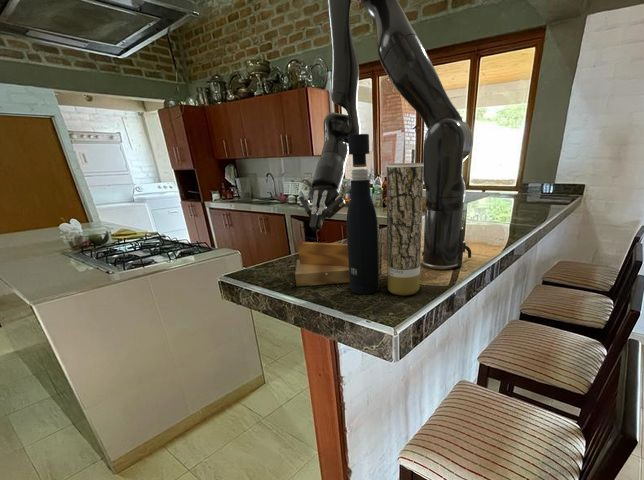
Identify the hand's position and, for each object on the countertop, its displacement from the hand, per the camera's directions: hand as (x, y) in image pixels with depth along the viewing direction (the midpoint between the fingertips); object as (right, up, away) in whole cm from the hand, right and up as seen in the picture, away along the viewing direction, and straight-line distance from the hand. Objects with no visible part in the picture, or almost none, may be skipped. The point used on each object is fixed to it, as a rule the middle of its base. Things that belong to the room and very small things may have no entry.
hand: (314, 229), depth 85 cm
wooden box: (+3, -12, -3) cm, 13 cm away
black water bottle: (+13, -16, -11) cm, 24 cm away
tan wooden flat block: (+3, -9, -4) cm, 11 cm away
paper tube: (+21, -17, -13) cm, 30 cm away
